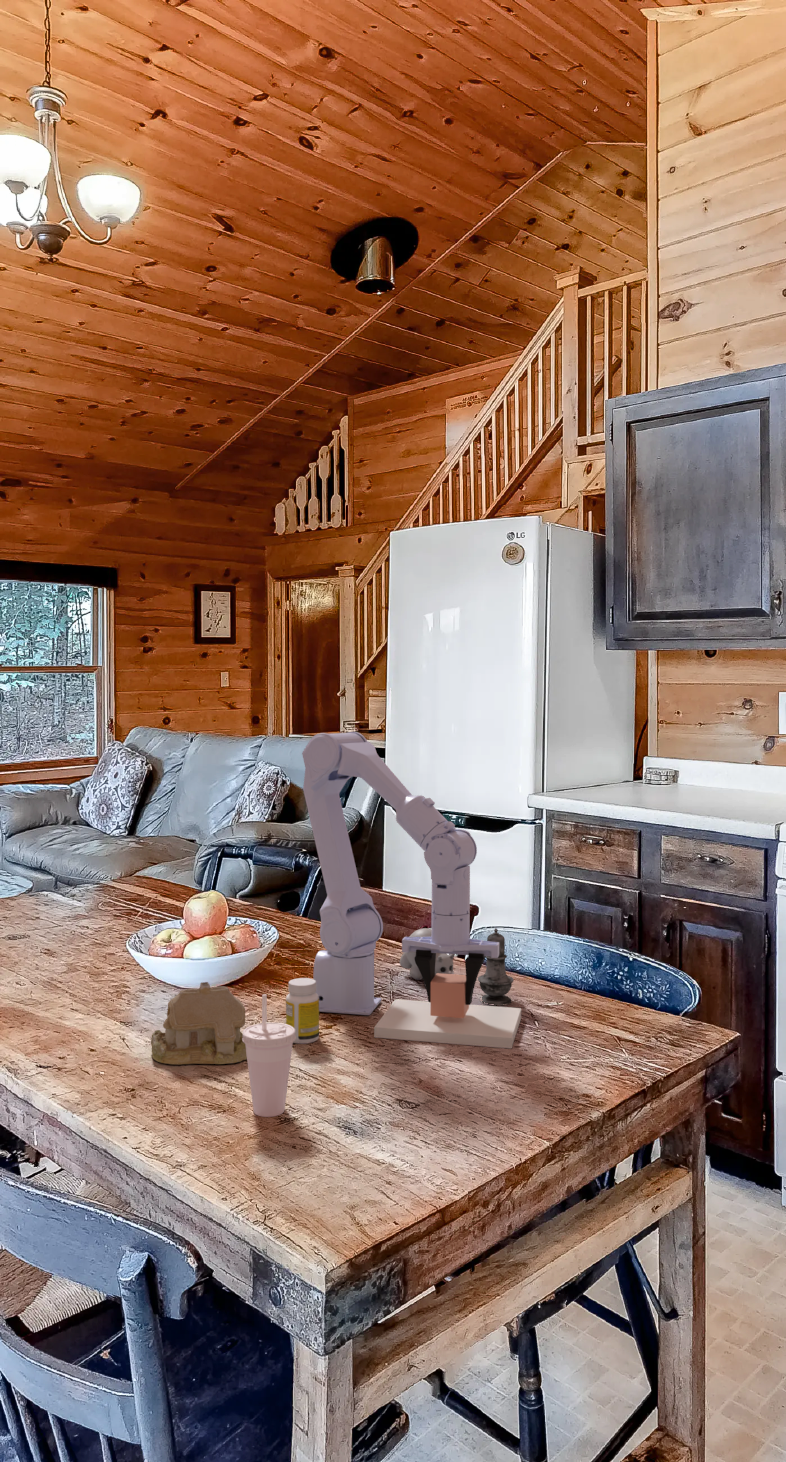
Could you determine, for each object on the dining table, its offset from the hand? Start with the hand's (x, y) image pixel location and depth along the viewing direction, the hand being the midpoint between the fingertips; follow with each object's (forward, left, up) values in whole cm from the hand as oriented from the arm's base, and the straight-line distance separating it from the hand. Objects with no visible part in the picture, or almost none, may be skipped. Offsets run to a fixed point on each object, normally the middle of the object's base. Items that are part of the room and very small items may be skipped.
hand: (450, 1001), depth 150 cm
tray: (0, 0, -4) cm, 4 cm away
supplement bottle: (-20, -10, -4) cm, 23 cm away
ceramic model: (-32, -19, -4) cm, 37 cm away
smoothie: (-16, -35, -4) cm, 39 cm away
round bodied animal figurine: (-8, +25, -4) cm, 26 cm away
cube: (0, 0, -2) cm, 2 cm away
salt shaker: (+5, +15, -4) cm, 16 cm away
